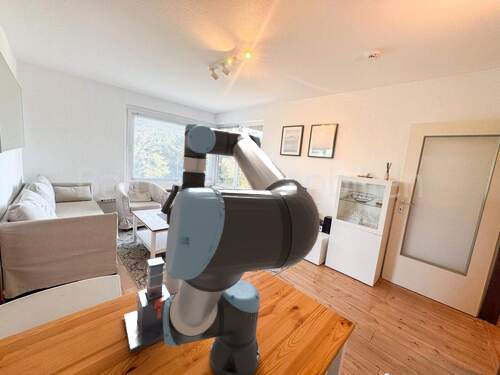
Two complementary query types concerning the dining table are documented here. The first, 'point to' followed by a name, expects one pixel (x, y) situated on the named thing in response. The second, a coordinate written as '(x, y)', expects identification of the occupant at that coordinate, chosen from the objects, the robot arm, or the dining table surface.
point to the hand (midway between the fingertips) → (190, 231)
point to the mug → (171, 283)
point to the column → (154, 278)
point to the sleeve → (146, 321)
